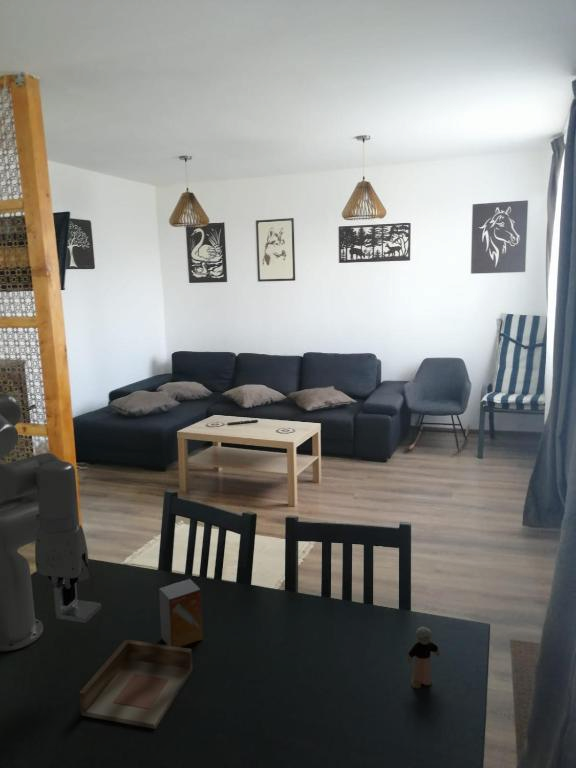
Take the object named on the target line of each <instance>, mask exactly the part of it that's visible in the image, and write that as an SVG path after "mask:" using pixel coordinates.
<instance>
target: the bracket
mask: <svg viewBox="0 0 576 768" xmlns="http://www.w3.org/2000/svg"><path fill="white" fill-rule="evenodd" d="M77 586H78V585H77V582H76V583H75V595H76V596H75V600H74V601H72V602H71V603H70V604H69V605H68V606H65V604H64V592H63V589H64V588H65V579H64V580H62V581H61V582H60V583H59V584H57V585H56V586H55V587H53V597H54V607H55V619H57V620H58V619H59V620H65V621H71V622H77V623H83V624H84V623H85V624H86V623H87V622H88V621H90V619H92V617H94V616H95V615H96V613H98V612H99V611H100V610H101V609H102V603H101V602H97V601H96V602H95V601H94V602H93V601H87V600H81V599H78V587H77Z"/></svg>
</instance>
